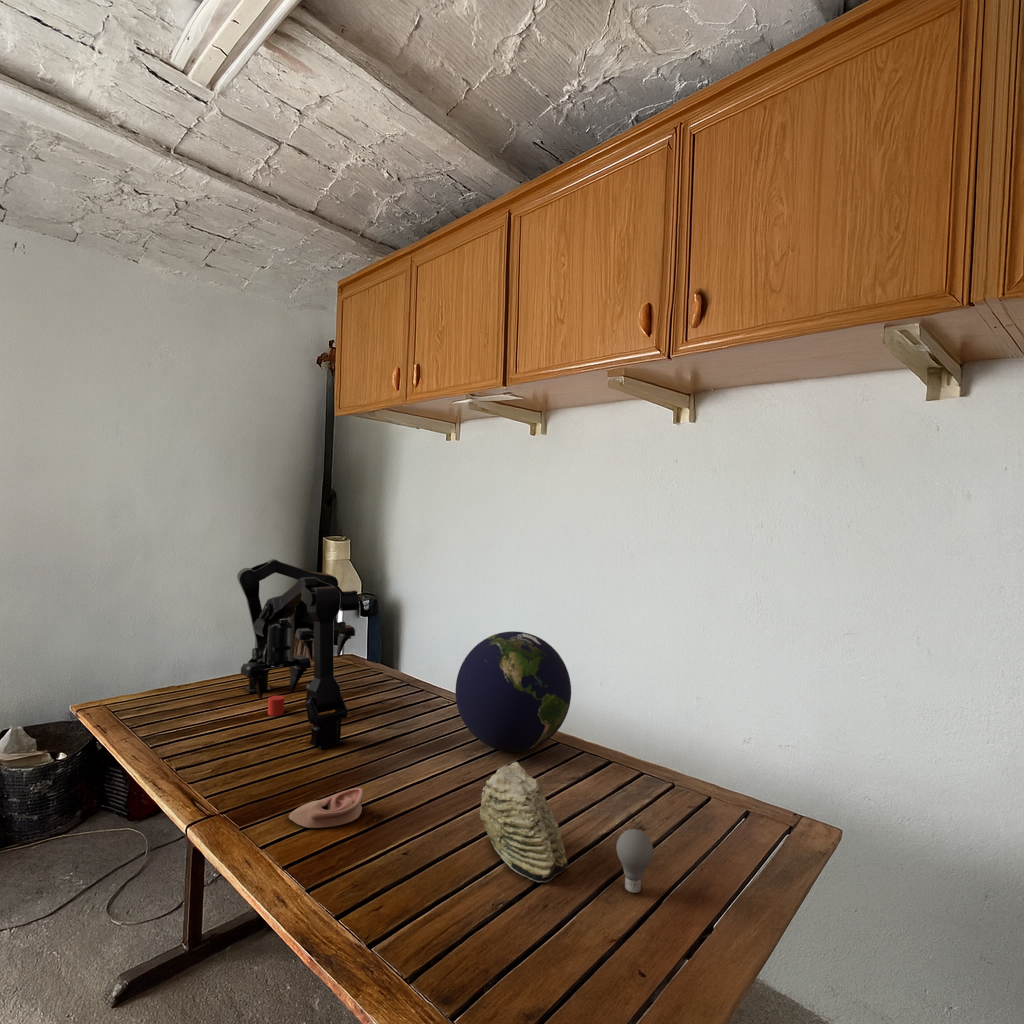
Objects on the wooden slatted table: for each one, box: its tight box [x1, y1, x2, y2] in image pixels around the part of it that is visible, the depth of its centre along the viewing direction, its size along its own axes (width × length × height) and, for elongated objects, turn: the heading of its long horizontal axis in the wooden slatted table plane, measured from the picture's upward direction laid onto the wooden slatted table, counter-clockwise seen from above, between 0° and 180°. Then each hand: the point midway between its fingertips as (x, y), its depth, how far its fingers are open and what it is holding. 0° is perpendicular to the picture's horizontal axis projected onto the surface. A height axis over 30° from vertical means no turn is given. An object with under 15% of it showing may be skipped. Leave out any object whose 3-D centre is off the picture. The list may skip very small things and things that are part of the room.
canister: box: [267, 695, 285, 717], centre depth 182 cm, size 4×4×4 cm
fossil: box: [479, 761, 569, 883], centre depth 114 cm, size 9×18×15 cm, turn 46°
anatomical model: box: [288, 787, 364, 829], centre depth 126 cm, size 13×4×12 cm
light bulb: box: [615, 828, 654, 894], centre depth 106 cm, size 6×6×10 cm
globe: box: [454, 630, 572, 753], centre depth 164 cm, size 30×30×30 cm
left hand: (325, 657), depth 214 cm, fingers open, 9 cm apart
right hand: (275, 695), depth 182 cm, fingers open, 9 cm apart
